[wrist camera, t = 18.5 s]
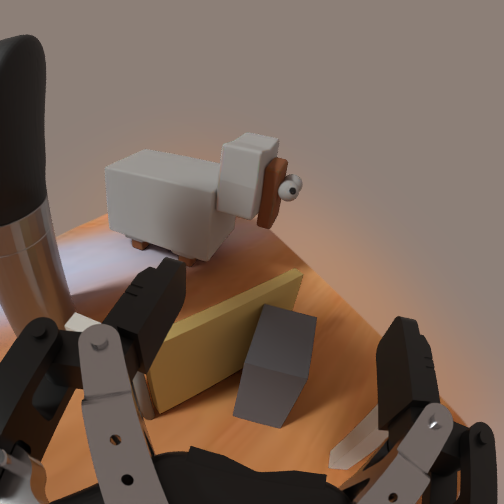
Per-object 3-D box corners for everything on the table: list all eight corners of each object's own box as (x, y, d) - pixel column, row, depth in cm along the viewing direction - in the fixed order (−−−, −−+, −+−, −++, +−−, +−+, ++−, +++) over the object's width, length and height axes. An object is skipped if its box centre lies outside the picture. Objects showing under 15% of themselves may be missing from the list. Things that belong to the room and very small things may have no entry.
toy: (269, 301, 43) (301, 164, 32) (111, 246, 48) (102, 128, 37) (286, 261, 52) (313, 145, 41) (145, 218, 57) (146, 115, 46)
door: (159, 413, 27) (145, 350, 20) (145, 392, 28) (128, 322, 22) (281, 343, 37) (303, 274, 30) (264, 328, 38) (282, 258, 32)
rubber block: (232, 415, 28) (244, 362, 22) (249, 365, 34) (264, 303, 28) (280, 428, 27) (307, 379, 22) (291, 376, 33) (317, 317, 28)
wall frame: (98, 402, 26) (62, 327, 19) (106, 387, 28) (76, 310, 21) (346, 469, 24) (410, 420, 17) (348, 452, 25) (409, 397, 19)
